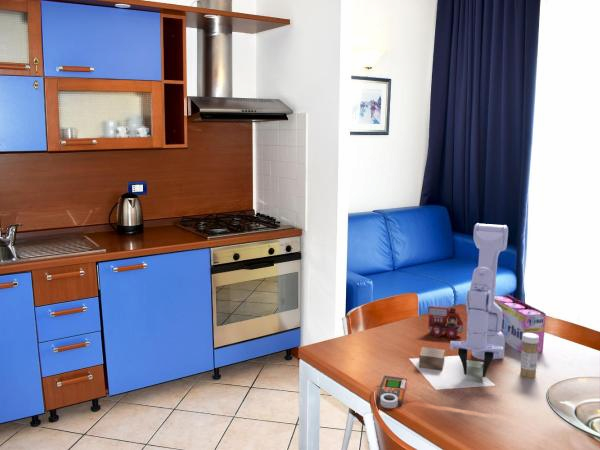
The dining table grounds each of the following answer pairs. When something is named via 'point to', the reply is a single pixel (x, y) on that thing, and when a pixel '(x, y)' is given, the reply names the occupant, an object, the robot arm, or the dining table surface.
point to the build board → (449, 375)
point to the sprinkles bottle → (529, 355)
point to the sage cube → (474, 371)
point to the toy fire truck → (444, 321)
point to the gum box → (520, 321)
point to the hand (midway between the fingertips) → (474, 374)
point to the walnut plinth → (431, 358)
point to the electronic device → (392, 391)
